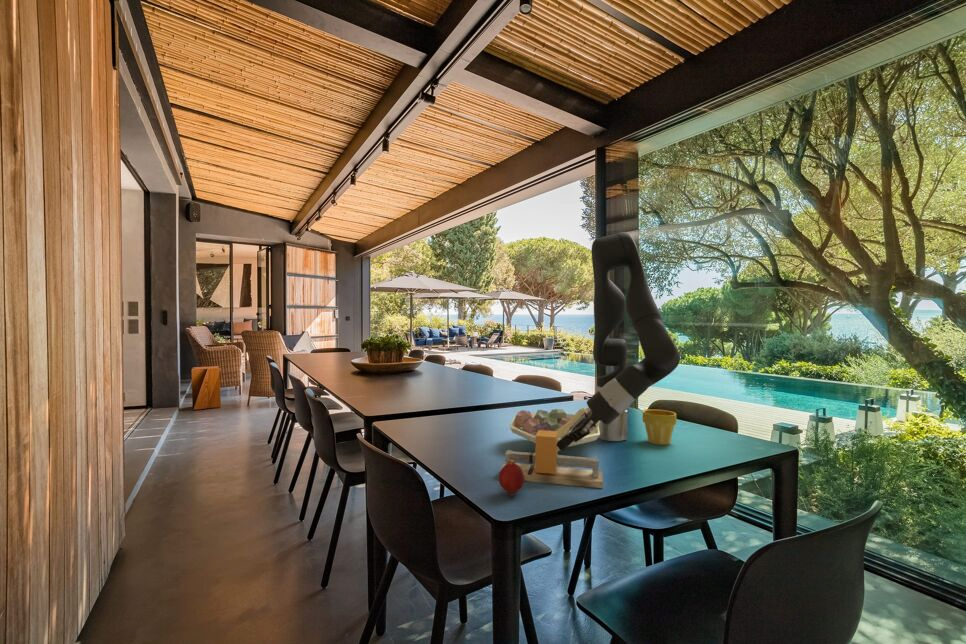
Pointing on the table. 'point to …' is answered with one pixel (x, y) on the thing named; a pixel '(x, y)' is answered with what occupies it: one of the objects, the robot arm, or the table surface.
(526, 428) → the dish with food
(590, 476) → the board
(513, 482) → the onion
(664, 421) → the plant pot
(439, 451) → the table surface
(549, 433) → the upright wooden block
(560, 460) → the pipe
